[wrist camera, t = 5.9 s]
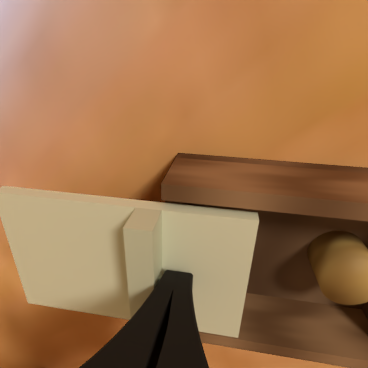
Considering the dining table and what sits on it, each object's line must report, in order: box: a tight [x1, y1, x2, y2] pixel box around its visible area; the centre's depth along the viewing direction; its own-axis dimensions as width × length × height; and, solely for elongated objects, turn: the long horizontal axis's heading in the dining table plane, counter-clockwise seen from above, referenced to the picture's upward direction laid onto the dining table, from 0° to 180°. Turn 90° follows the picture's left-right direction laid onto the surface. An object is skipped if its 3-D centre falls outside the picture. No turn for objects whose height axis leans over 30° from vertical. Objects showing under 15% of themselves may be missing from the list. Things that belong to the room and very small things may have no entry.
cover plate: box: [0, 186, 259, 338], centre depth 13 cm, size 13×8×2 cm, turn 88°
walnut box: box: [161, 153, 368, 368], centre depth 14 cm, size 13×10×4 cm
